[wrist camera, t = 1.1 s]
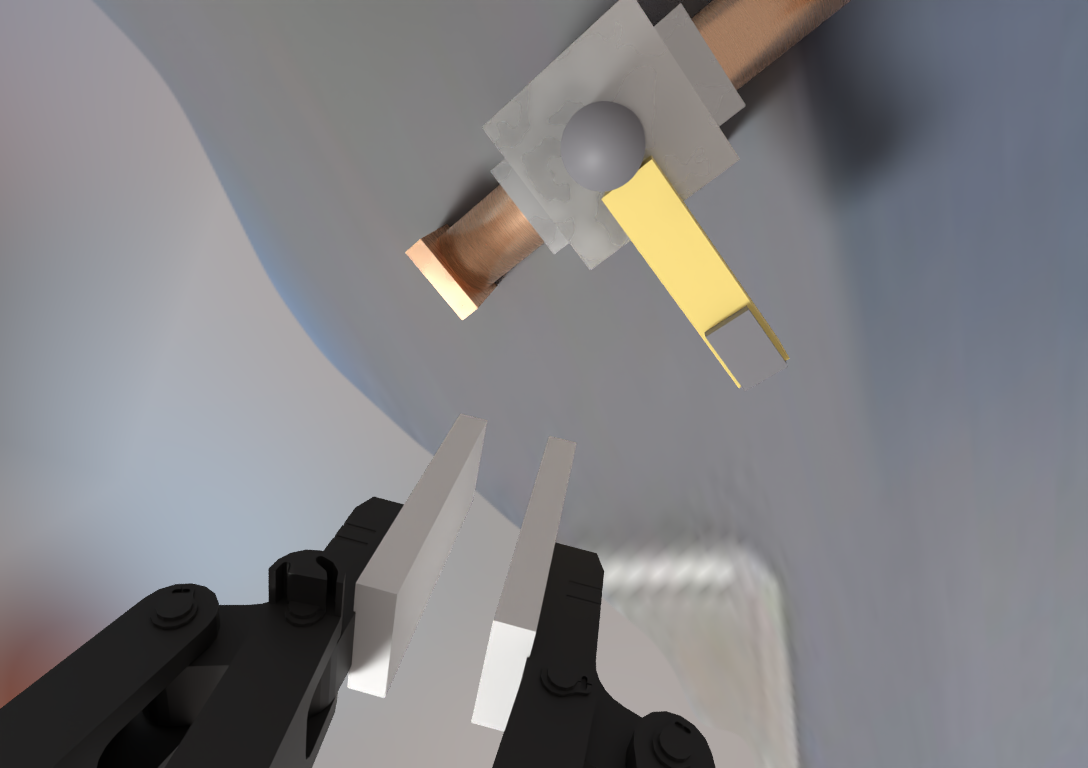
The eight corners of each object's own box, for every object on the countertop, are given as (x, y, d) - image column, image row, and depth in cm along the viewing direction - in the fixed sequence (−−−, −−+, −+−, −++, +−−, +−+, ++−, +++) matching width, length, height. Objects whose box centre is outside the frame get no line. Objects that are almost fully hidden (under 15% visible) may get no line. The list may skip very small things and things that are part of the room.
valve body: (415, 215, 37) (360, 240, 30) (819, -150, 27) (880, -243, 20) (499, 316, 39) (465, 362, 32) (904, 8, 29) (988, -25, 22)
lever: (555, 136, 26) (542, 140, 23) (616, 85, 25) (611, 80, 22) (722, 365, 29) (732, 398, 26) (783, 328, 28) (801, 358, 25)
